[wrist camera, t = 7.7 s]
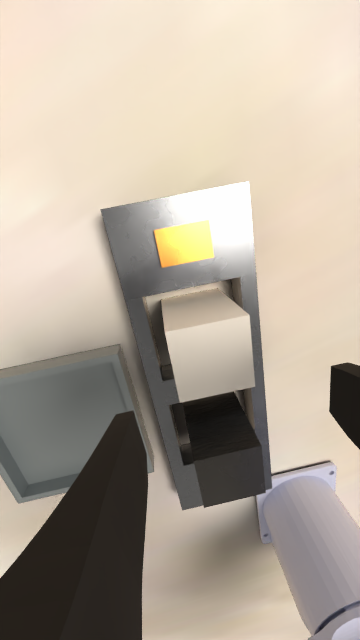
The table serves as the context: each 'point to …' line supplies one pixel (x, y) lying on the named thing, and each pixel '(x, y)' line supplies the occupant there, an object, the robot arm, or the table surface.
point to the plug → (208, 344)
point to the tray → (61, 418)
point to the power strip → (201, 414)
